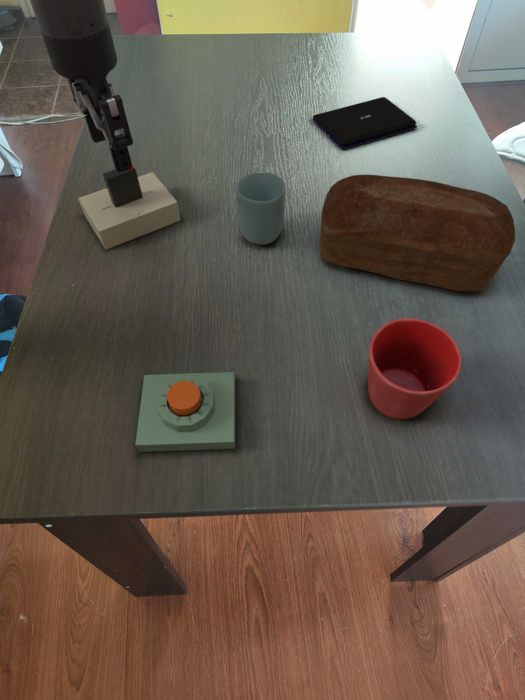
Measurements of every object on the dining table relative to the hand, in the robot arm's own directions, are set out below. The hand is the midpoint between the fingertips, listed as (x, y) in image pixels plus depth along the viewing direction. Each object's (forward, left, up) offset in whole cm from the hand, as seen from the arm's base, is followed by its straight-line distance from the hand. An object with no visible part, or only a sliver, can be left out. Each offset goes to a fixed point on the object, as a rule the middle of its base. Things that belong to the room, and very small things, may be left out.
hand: (112, 154), depth 65 cm
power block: (-7, -33, -17) cm, 38 cm away
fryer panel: (+2, +7, -17) cm, 18 cm away
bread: (+36, -26, -17) cm, 48 cm away
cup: (+19, -9, -17) cm, 27 cm away
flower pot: (+18, -45, -17) cm, 51 cm away
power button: (-7, -33, -13) cm, 36 cm away
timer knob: (+2, +7, -13) cm, 15 cm away
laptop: (+56, +9, -17) cm, 59 cm away
